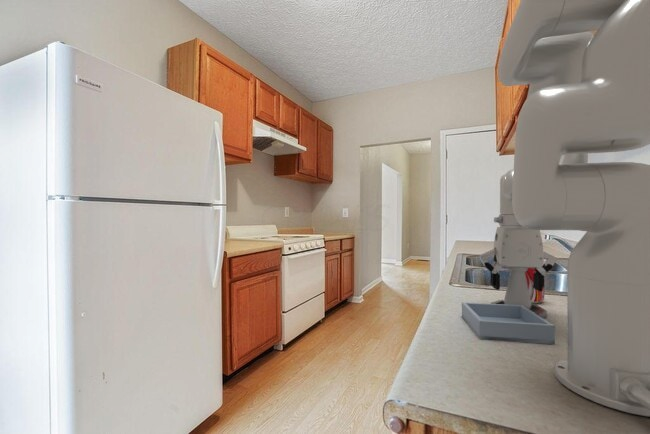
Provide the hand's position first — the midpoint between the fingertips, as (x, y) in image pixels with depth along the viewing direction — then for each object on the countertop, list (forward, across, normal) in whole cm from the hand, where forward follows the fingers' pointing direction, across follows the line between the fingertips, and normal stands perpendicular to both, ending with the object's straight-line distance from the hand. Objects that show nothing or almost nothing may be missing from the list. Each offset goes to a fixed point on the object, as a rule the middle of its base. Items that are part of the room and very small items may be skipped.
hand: (516, 289), depth 75 cm
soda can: (+6, +8, +11) cm, 15 cm away
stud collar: (+6, 0, -1) cm, 6 cm away
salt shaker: (+6, 0, -1) cm, 6 cm away
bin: (+6, -8, -13) cm, 16 cm away
